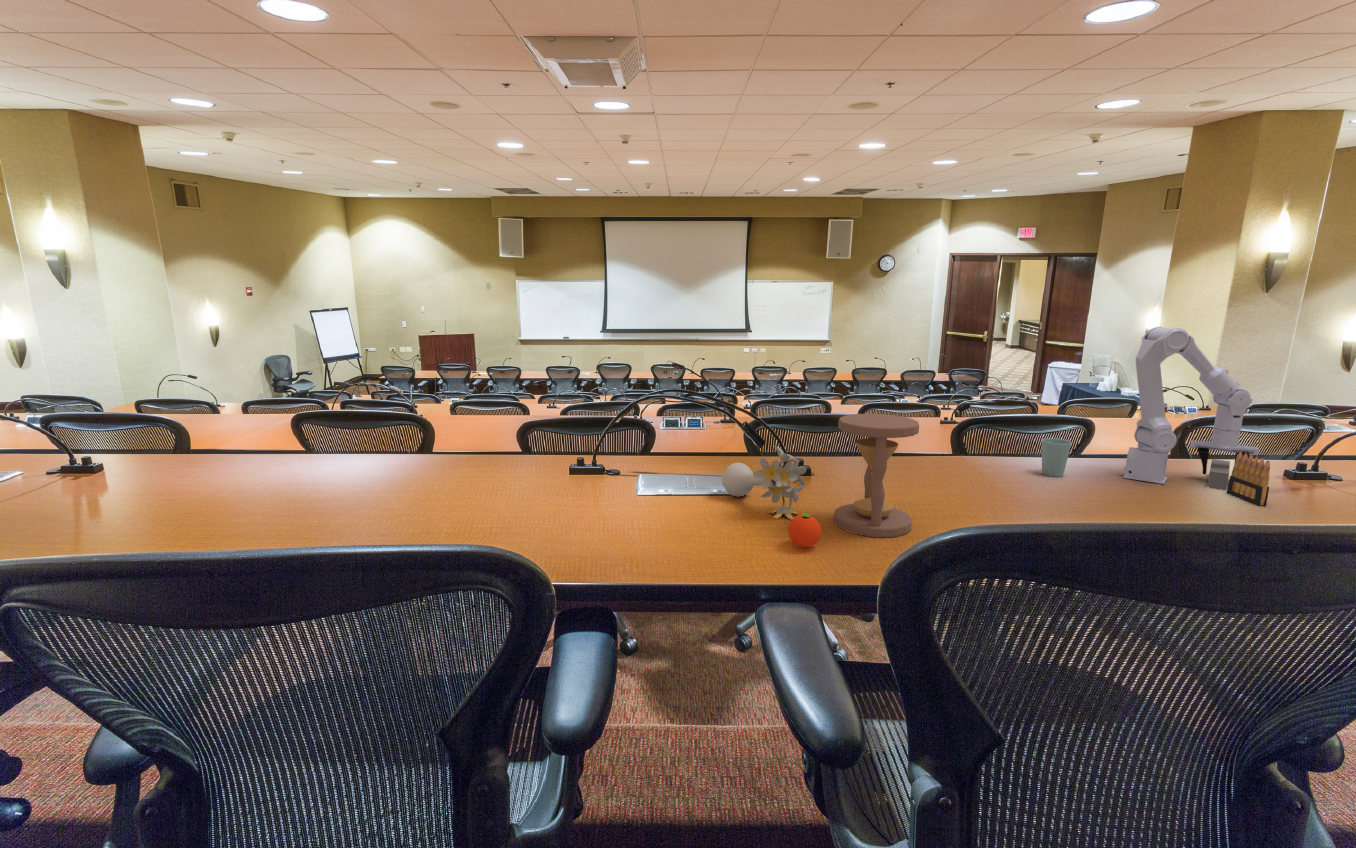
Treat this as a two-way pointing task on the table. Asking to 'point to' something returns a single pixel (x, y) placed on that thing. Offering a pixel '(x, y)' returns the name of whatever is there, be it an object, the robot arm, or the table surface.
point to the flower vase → (767, 479)
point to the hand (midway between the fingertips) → (1218, 475)
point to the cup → (1054, 456)
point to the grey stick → (1218, 474)
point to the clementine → (804, 531)
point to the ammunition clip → (1250, 480)
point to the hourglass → (875, 475)
